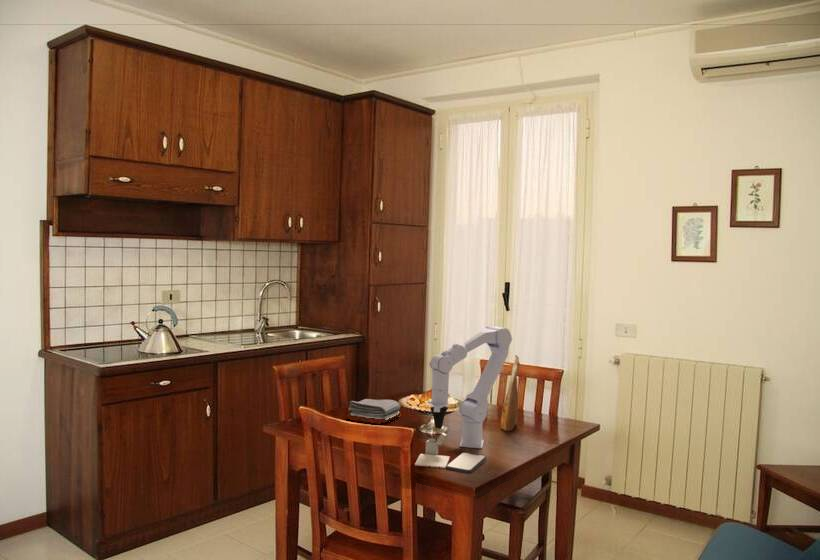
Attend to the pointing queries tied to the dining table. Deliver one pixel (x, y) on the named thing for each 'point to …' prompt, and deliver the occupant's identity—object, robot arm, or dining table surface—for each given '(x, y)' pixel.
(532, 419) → the dining table surface
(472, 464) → the phone case
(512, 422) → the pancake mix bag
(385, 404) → the towel
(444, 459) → the mat
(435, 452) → the lighter
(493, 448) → the dining table surface
